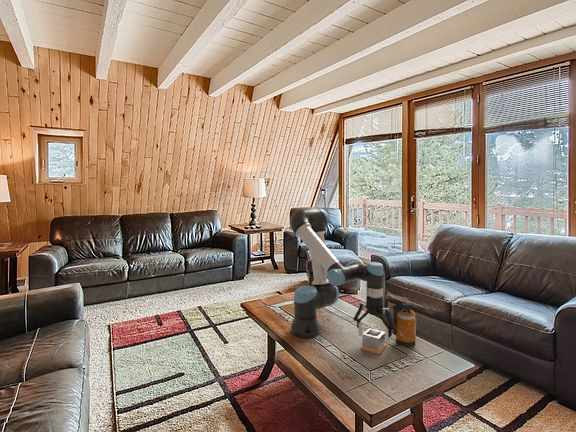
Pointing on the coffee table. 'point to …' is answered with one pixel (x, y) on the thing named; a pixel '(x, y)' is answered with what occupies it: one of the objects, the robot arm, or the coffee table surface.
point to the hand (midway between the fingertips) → (373, 339)
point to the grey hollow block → (373, 339)
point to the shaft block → (372, 349)
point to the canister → (404, 324)
